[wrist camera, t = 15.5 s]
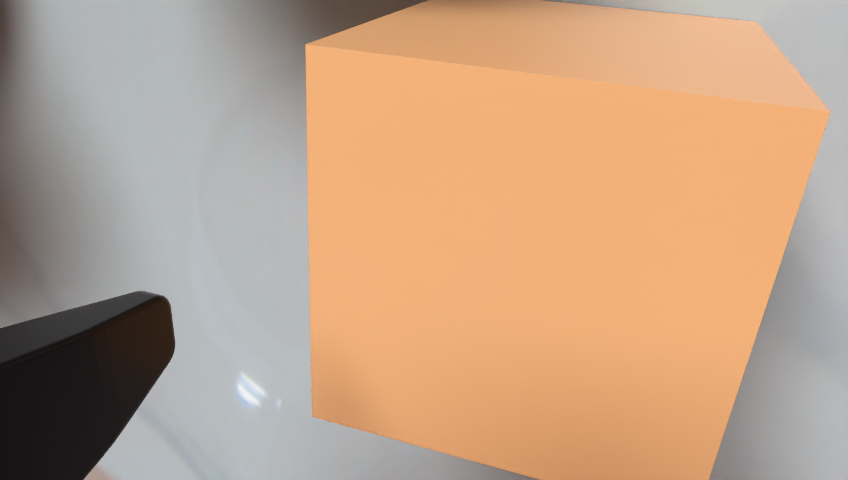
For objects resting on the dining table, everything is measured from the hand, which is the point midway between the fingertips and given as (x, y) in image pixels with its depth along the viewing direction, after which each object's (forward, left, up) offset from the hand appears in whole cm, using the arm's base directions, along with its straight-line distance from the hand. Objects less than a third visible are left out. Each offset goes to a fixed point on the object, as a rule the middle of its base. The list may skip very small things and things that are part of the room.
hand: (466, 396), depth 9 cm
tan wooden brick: (0, 0, -12) cm, 12 cm away
